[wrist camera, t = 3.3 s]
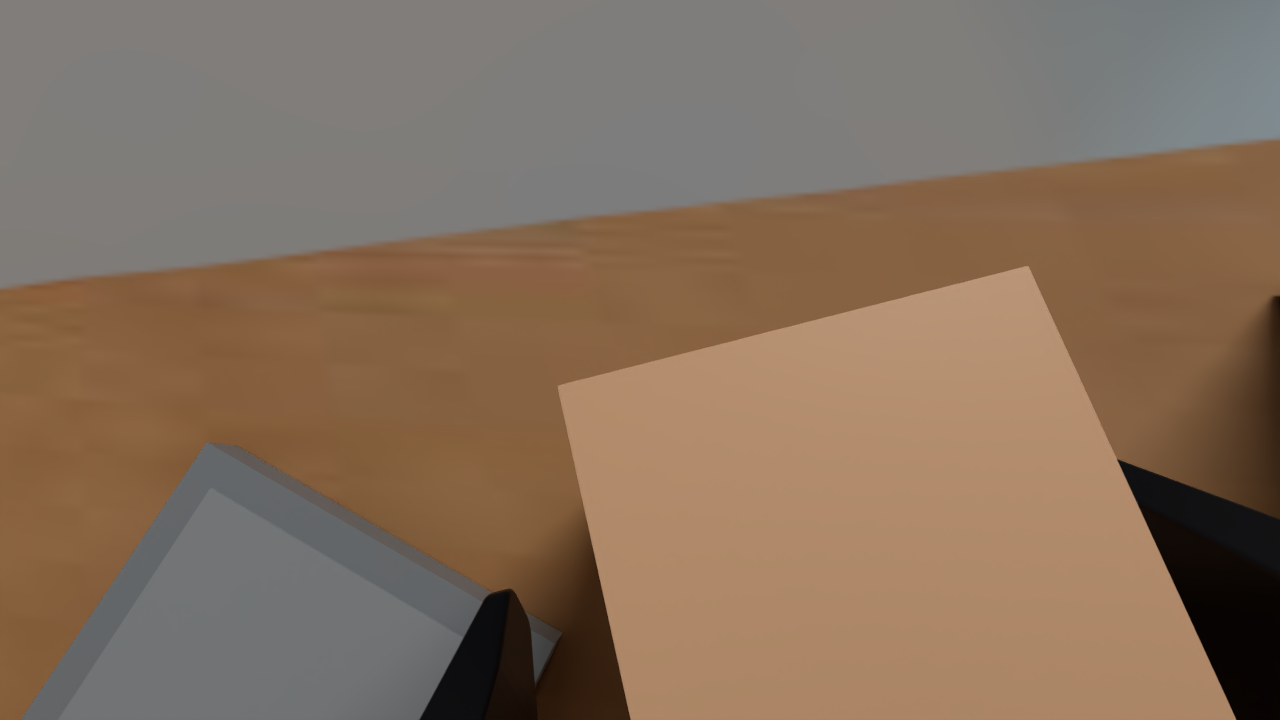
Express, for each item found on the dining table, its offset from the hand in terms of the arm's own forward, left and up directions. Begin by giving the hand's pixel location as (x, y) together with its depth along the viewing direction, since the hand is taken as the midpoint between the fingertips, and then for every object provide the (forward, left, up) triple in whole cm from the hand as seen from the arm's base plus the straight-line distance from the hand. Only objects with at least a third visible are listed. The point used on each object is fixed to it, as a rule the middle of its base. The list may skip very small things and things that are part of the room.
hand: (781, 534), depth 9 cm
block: (0, 0, -8) cm, 8 cm away
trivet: (-11, +9, -8) cm, 16 cm away
